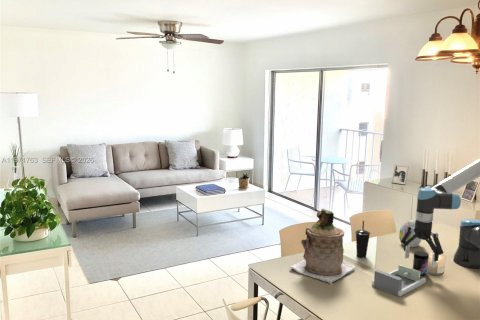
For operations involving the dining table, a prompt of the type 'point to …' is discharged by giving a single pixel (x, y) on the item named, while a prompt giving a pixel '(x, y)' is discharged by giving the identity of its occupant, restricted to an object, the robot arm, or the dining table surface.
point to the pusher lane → (395, 282)
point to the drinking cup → (362, 242)
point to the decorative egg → (404, 231)
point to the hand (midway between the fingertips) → (419, 262)
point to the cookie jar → (323, 250)
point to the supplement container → (421, 262)
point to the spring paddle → (409, 272)
